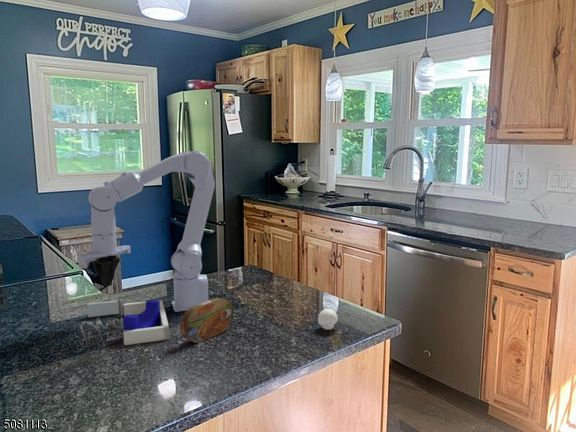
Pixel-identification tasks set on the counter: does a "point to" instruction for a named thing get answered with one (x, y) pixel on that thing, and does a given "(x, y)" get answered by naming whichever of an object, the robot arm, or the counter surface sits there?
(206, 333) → the tin
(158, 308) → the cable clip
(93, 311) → the gate
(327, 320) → the mushroom
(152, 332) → the bracket
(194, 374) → the counter surface
